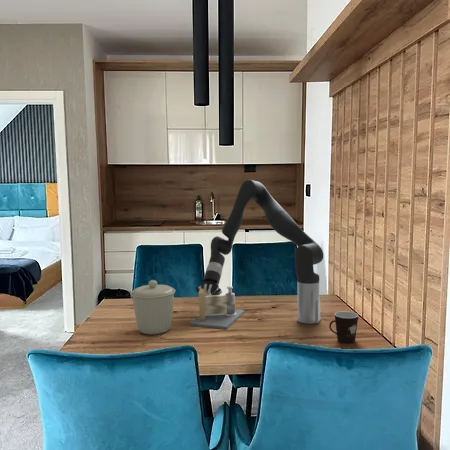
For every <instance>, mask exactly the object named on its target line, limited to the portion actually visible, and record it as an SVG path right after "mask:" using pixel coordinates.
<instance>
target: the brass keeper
mask: <svg viewBox="0 0 450 450" xmlns="http://www.w3.org/2000/svg"><path fill="white" fill-rule="evenodd" d="M206 293H207V289H200V290H199V293H198V292H197V294H198V306H199V307H198V309H199V315H200V321H205V320H206V310H205V296H206Z"/></svg>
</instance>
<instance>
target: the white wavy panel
mask: <svg viewBox="0 0 450 450" xmlns="http://www.w3.org/2000/svg"><path fill="white" fill-rule="evenodd" d="M235 295H236V294H235V293H234V292H232V293H231V294H229V293H228V292H225V294H220V295H209V296H205V310H206V315H208V314H224V313H227V314H234V313H235V309H236V296H235Z"/></svg>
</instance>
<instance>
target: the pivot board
mask: <svg viewBox="0 0 450 450" xmlns="http://www.w3.org/2000/svg"><path fill="white" fill-rule="evenodd" d="M226 289H228V290H227V293H229V294H231V293H233V289H234V286H231V285H229V286H227V287H226ZM245 312H246V311H245V309H244V310H243V309H236V308H235V313H234V314H227V313H224V314H208V315H206V320H205V321H200V314H199V315H198V316H197V317H195V318H194V319H193V320H191V321H190V322H189V324H188V325H189V326H193V327H203V328H212V329H220V330H221V329H222V330H227V329H229V328H230V327H231V326H232V325H233V324H234V323H235V322H236V321H238V319H239V318H240V317H242V315H243V314H245Z"/></svg>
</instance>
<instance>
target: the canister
mask: <svg viewBox="0 0 450 450" xmlns="http://www.w3.org/2000/svg"><path fill="white" fill-rule="evenodd" d="M175 293H176V289H175V288H174V287H172V286H170V285H167V284H158V282H157V280H156V279H155V280H154V279H152V280H149V281H148V284H146V285H142V286H139V287H136V288H134V289H133V290H132V291H131V292H130V296H131V297H132V303H133V309H134V315H135V321H136V326H137V329H138V331H139V332H140V333H142V334H144V335H160V334H163V333H166V332H168V331H169V330H170V329H171V326H172V322H173V313H174V300H175V298H174V296H175V295H174V294H175Z"/></svg>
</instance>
